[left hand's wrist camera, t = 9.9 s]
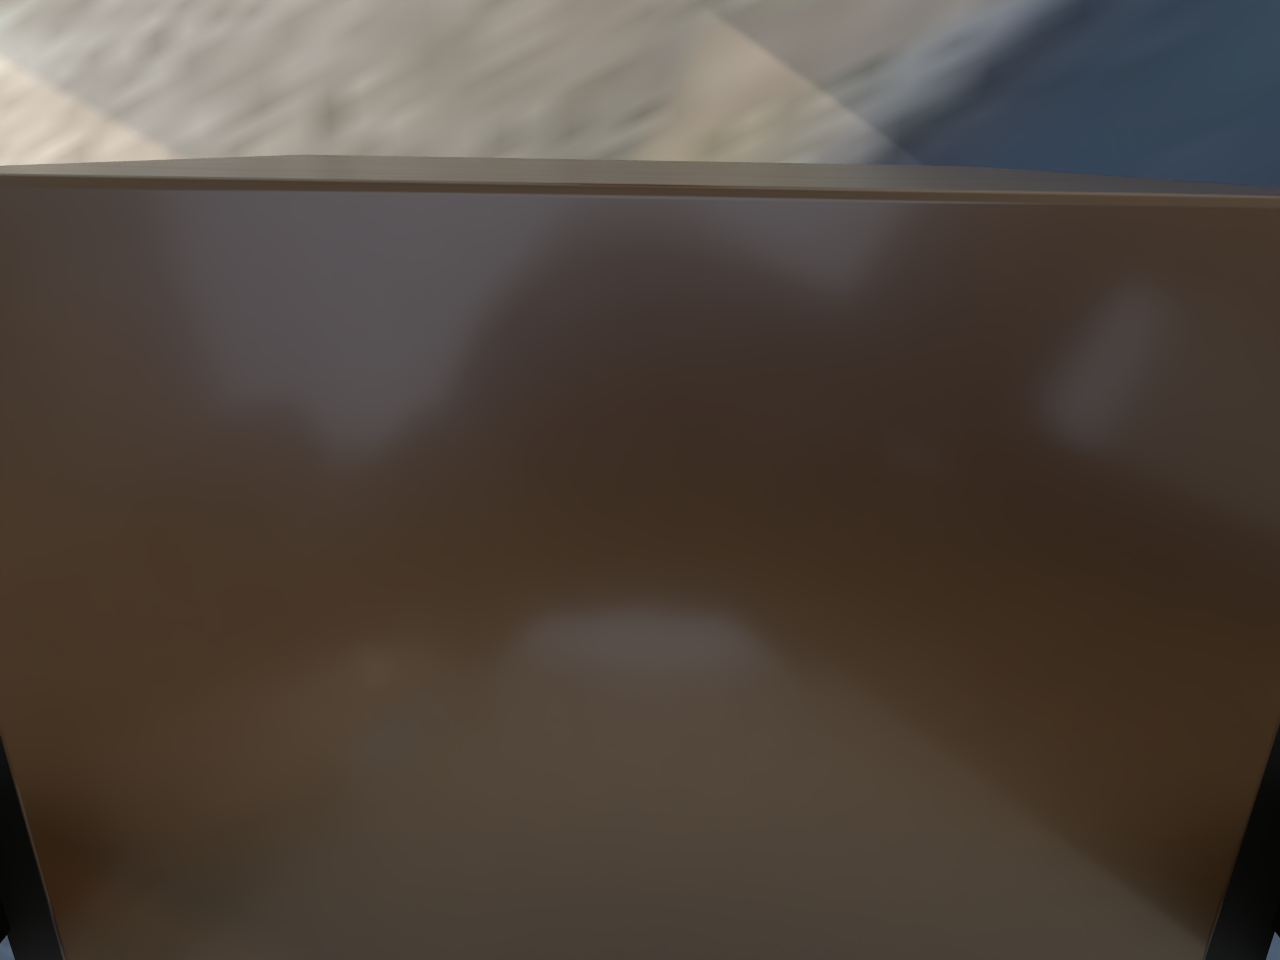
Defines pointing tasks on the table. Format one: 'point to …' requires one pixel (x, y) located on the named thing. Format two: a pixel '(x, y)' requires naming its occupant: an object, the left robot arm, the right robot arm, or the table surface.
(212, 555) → the wide beam
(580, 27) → the table surface
